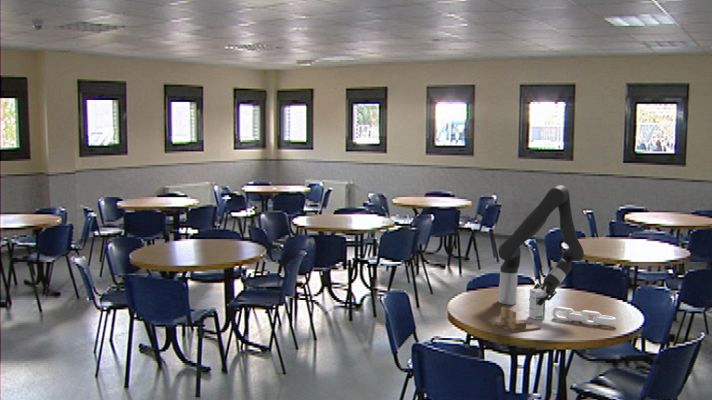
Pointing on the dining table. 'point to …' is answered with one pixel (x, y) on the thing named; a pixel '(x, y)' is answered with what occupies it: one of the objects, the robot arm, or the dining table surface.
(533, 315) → the syrup box
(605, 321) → the chain
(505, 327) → the dock
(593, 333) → the dining table surface
